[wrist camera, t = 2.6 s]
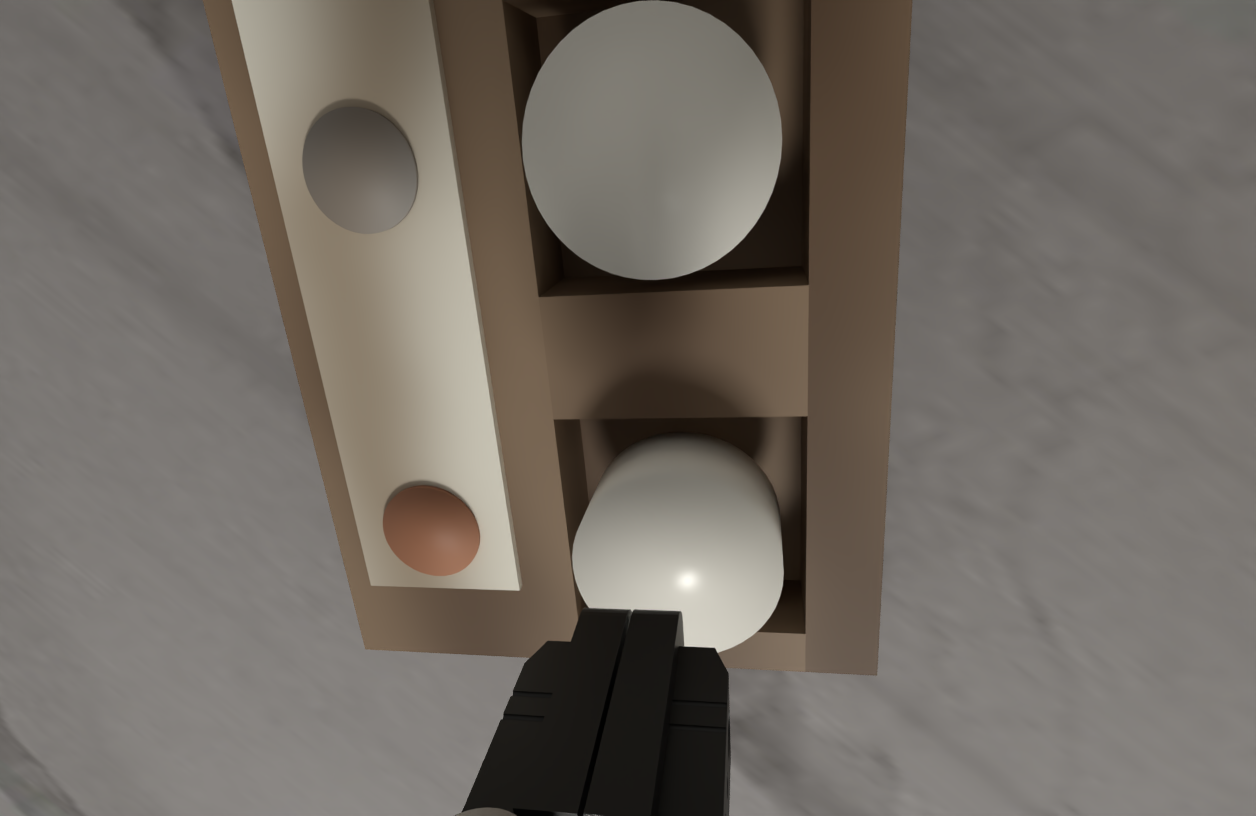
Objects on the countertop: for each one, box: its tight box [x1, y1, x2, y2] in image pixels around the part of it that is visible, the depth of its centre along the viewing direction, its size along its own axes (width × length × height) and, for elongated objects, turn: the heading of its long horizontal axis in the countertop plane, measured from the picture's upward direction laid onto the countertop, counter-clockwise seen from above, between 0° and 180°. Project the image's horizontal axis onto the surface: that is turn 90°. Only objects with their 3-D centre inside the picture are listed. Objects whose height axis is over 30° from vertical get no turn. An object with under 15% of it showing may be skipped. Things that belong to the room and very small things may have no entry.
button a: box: [572, 432, 784, 653], centre depth 14 cm, size 4×4×2 cm
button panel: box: [203, 0, 912, 676], centre depth 14 cm, size 12×22×3 cm, turn 5°
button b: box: [522, 0, 782, 280], centre depth 12 cm, size 4×4×2 cm
